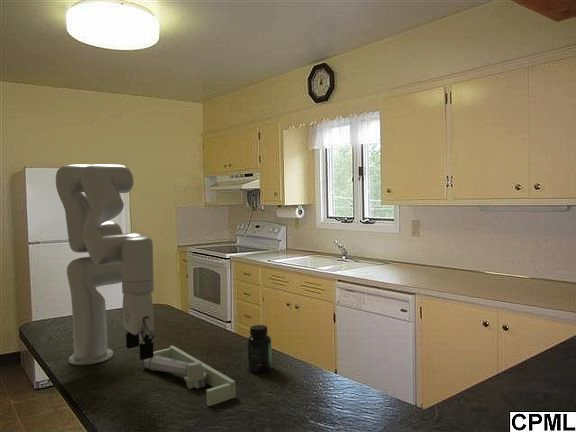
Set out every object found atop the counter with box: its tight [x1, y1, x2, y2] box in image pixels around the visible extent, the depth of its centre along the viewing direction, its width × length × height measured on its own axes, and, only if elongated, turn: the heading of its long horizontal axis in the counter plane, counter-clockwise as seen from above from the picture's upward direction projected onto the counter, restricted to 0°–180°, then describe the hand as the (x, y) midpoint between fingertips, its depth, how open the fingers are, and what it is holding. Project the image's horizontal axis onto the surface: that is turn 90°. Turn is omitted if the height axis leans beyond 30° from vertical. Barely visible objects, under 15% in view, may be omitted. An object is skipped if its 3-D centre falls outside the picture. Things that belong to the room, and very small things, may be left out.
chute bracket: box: [153, 345, 237, 407], centre depth 123 cm, size 36×7×4 cm, turn 38°
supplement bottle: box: [246, 324, 273, 374], centre depth 129 cm, size 7×7×12 cm
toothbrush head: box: [142, 354, 207, 390], centre depth 125 cm, size 5×7×25 cm
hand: (139, 352), depth 116 cm, fingers open, 9 cm apart
